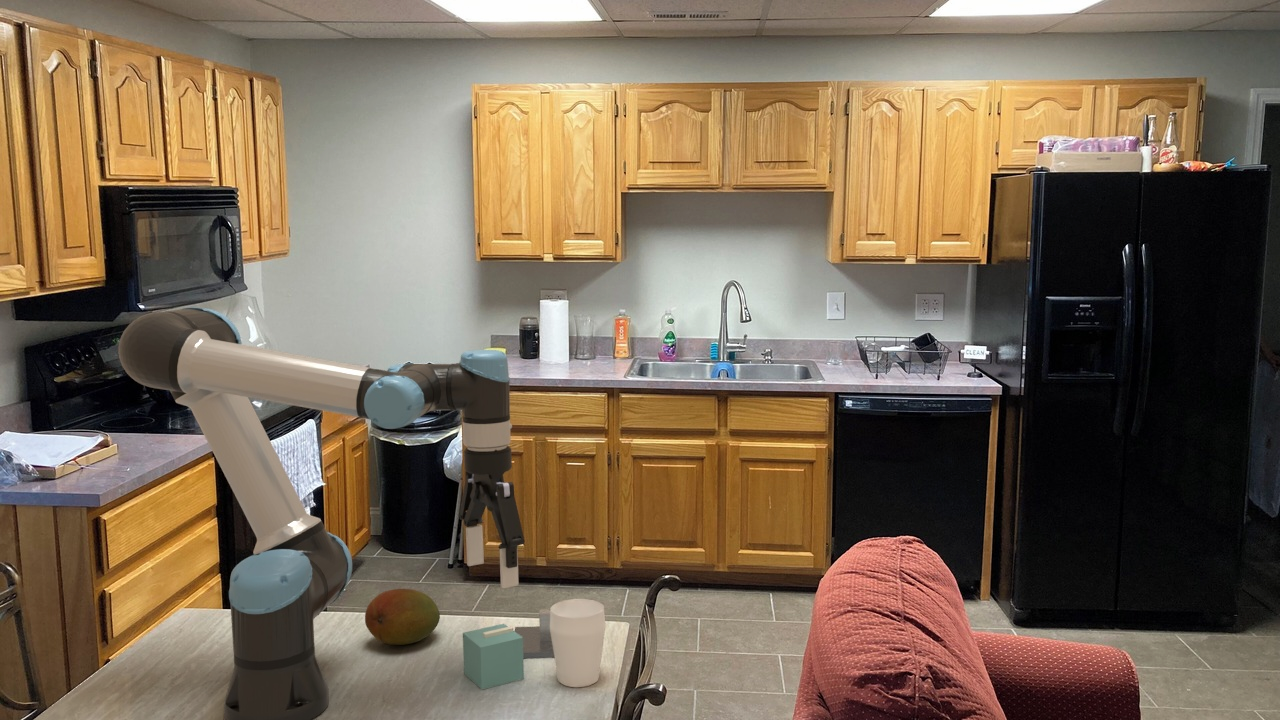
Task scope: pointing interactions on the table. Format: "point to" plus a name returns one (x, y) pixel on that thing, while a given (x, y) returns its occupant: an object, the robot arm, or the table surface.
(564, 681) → the cup
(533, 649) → the shaft fixture
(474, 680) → the teal block
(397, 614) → the fruit
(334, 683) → the table surface
